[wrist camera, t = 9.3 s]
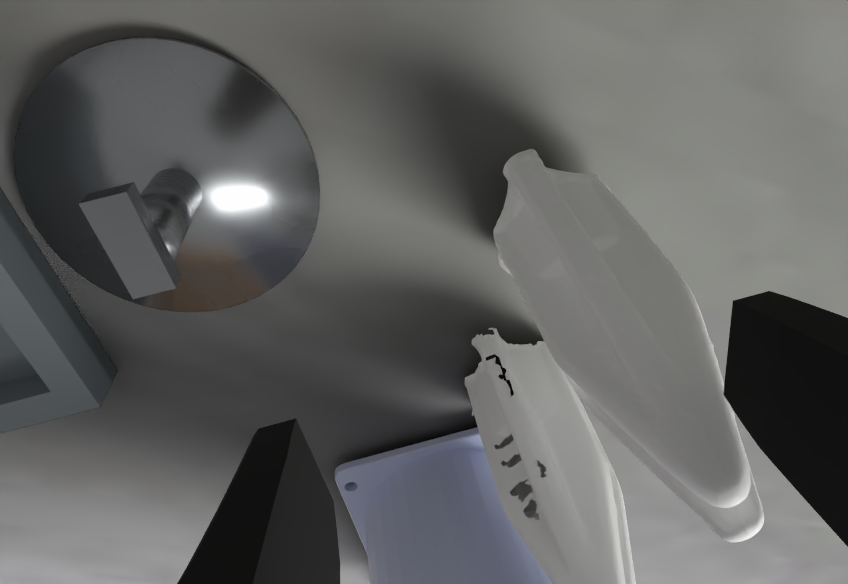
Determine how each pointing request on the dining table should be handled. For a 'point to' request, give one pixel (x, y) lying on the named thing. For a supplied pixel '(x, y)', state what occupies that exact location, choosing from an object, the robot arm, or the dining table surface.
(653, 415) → the salt and pepper shakers
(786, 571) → the dining table surface
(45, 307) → the tray
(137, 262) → the grey round piece
